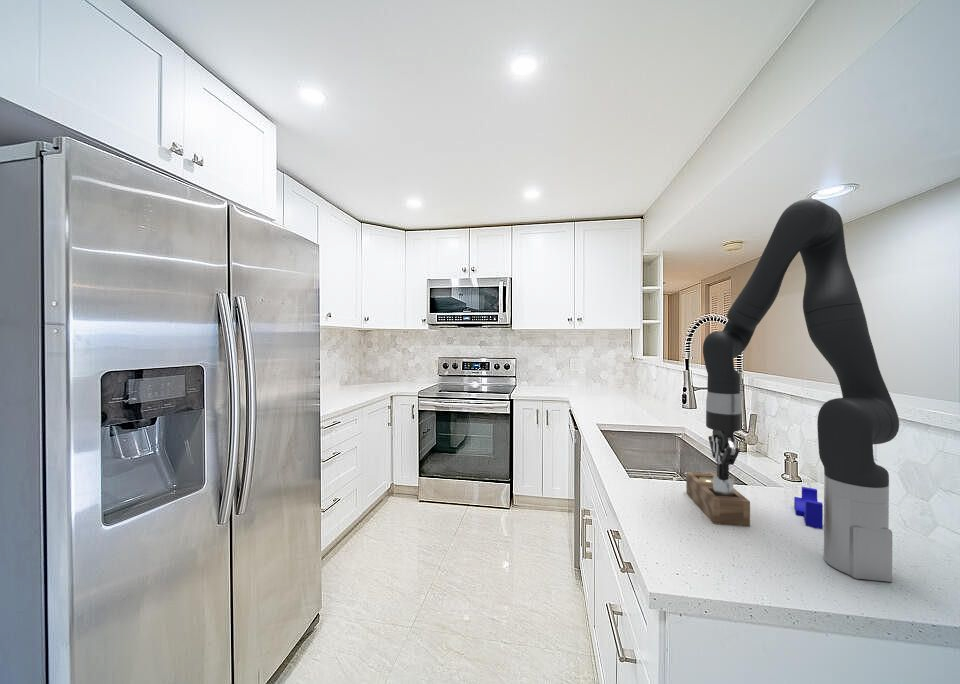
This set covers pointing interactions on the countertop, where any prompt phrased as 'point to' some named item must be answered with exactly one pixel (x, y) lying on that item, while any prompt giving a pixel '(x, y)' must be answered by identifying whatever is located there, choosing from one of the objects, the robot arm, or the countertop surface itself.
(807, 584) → the countertop surface
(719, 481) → the steel peg
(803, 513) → the blue block piece
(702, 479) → the brass peg
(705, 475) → the wooden peg holder
